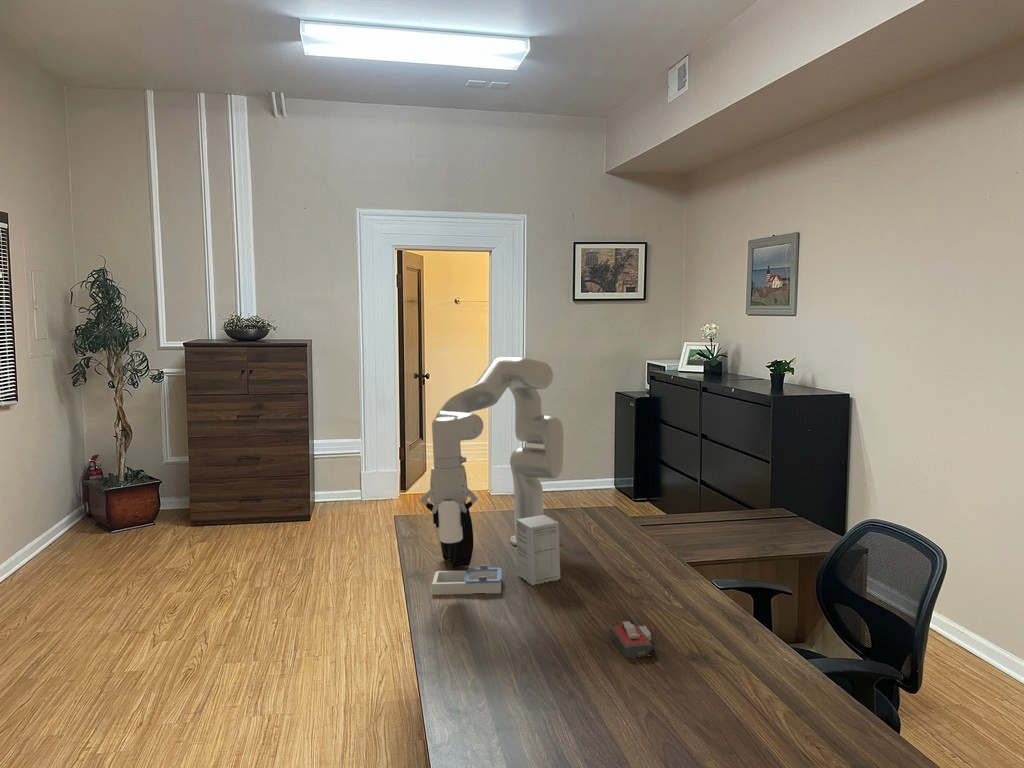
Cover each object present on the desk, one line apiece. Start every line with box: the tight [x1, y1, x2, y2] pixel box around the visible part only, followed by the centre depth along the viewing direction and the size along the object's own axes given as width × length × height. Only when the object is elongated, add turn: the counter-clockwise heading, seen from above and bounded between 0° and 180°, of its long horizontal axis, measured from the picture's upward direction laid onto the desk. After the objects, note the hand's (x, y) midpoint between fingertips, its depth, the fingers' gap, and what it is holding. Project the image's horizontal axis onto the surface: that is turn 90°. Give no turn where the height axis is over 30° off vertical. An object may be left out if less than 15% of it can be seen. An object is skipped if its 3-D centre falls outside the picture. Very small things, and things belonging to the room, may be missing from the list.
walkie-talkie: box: [610, 614, 657, 659], centre depth 165 cm, size 9×4×20 cm
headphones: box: [439, 501, 474, 569], centre depth 216 cm, size 19×7×20 cm, turn 22°
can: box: [437, 500, 463, 544], centre depth 197 cm, size 6×6×12 cm
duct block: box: [431, 563, 503, 596], centre depth 198 cm, size 19×10×5 cm, turn 90°
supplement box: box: [516, 514, 561, 586], centre depth 204 cm, size 10×9×17 cm
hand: (450, 525), depth 197 cm, fingers closed on can, 6 cm apart
